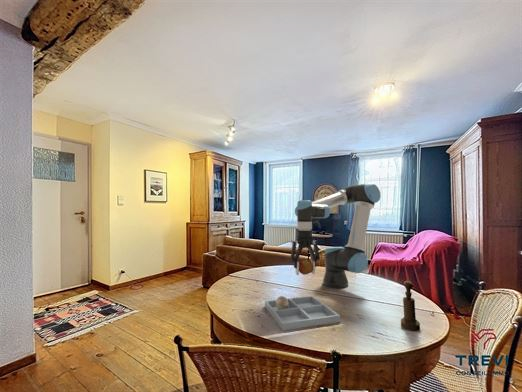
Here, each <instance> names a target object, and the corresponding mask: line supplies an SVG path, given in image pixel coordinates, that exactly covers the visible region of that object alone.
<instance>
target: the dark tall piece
mask: <svg viewBox="0 0 522 392" xmlns="http://www.w3.org/2000/svg"><path fill="white" fill-rule="evenodd" d="M403 286H404V288H405V290H406V291H405V297H403V298H402V301H403V317H402V318H401V319H400V327H401V328H402V329H404V330H406V331H409V332H419V331H420V330H421V324H420V321H419V320H418V319H417V318H416V305H415V304H416V300H415V298H413V297H412V295H413V293H412V292H411V290H412V288H413V282H412V281H410V280H405V281H404V282H403Z"/></svg>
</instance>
